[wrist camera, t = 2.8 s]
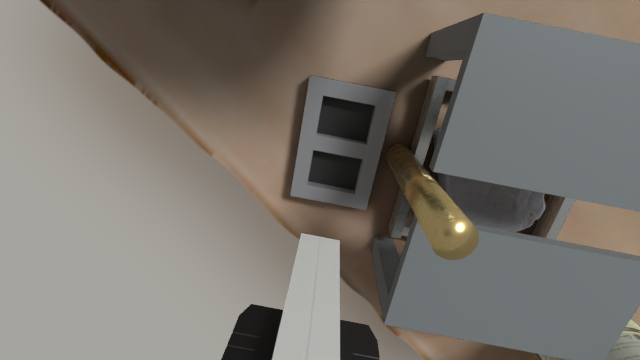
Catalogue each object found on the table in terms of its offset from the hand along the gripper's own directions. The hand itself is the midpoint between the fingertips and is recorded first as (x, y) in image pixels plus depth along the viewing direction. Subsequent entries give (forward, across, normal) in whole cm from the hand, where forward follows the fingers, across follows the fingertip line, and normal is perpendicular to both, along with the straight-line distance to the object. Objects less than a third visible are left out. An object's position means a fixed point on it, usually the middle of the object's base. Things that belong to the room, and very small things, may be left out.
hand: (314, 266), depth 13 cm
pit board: (+21, +1, 0) cm, 21 cm away
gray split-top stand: (+21, +16, 0) cm, 27 cm away
